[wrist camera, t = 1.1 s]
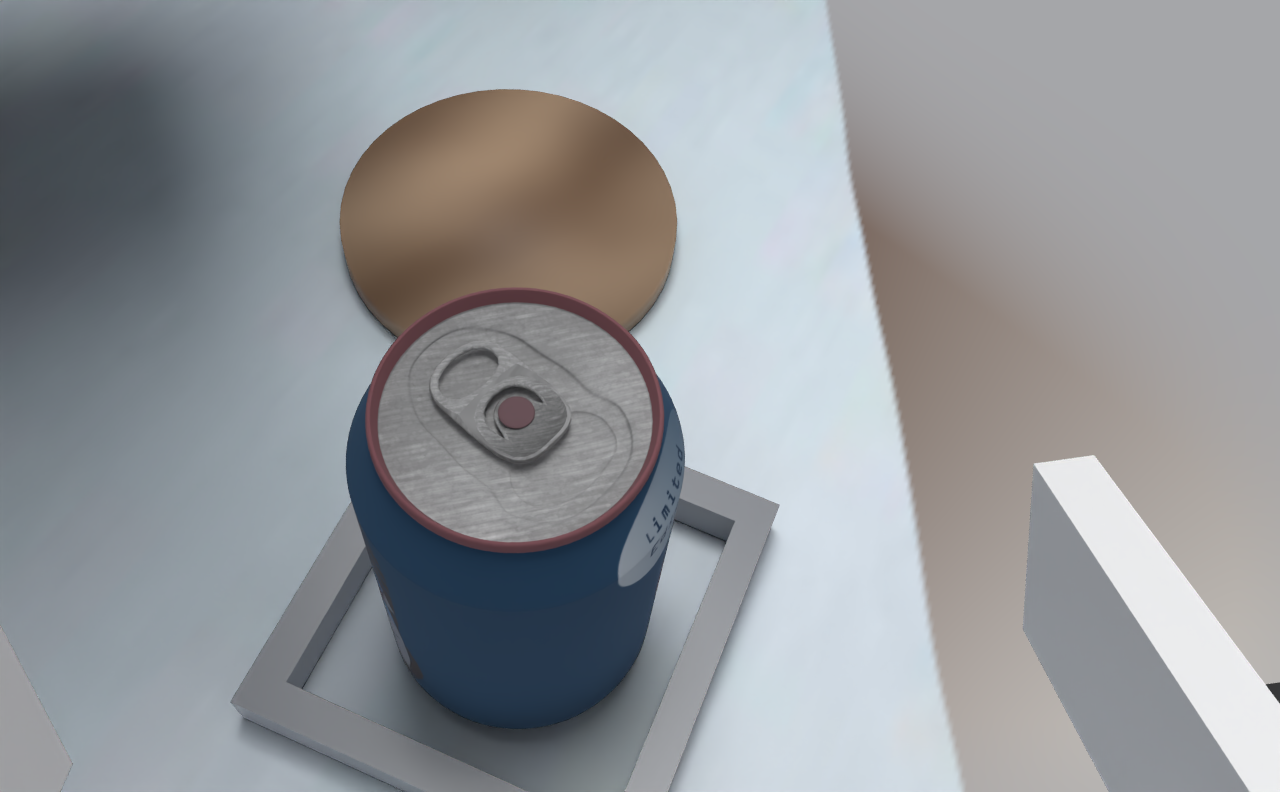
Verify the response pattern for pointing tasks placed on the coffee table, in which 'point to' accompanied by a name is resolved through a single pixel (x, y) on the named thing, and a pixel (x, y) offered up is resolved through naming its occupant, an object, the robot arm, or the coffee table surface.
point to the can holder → (436, 779)
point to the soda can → (516, 501)
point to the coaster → (507, 208)
